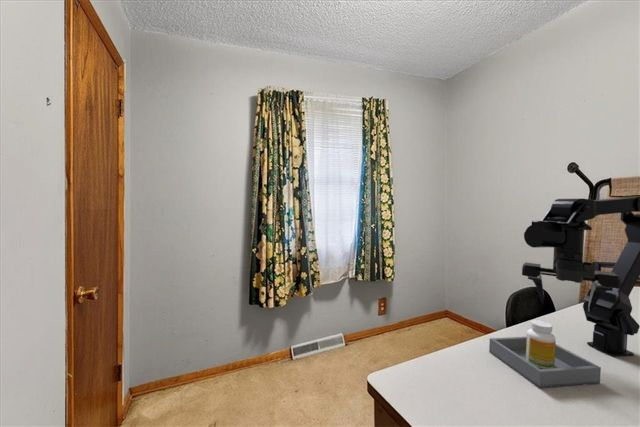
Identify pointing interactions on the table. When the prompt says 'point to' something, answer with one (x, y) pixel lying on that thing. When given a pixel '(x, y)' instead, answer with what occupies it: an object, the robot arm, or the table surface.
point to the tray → (563, 374)
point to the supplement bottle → (541, 345)
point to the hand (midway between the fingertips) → (565, 307)
